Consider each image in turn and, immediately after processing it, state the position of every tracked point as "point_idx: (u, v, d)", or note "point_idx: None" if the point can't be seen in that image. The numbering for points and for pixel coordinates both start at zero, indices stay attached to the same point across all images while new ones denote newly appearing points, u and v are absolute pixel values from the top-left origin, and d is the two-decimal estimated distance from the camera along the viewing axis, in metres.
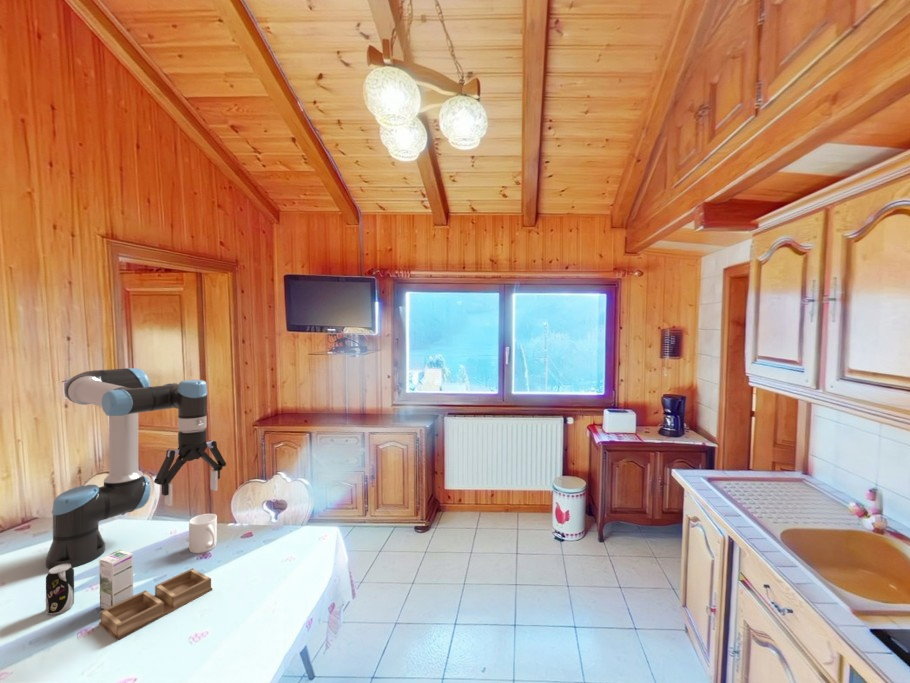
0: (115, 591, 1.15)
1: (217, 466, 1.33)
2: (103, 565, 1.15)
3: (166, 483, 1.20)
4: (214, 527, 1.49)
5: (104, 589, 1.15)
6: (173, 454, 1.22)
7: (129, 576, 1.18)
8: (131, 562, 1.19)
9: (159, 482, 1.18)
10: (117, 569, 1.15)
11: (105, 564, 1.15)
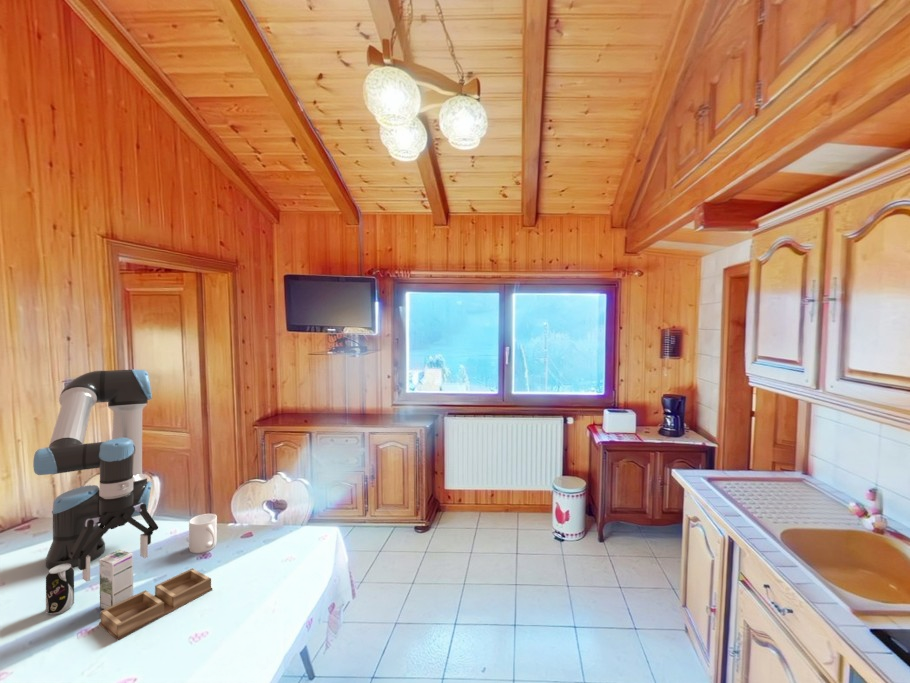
0: (115, 591, 1.15)
1: (147, 531, 1.23)
2: (103, 565, 1.15)
3: (82, 557, 1.10)
4: (214, 527, 1.49)
5: (104, 589, 1.15)
6: (91, 524, 1.11)
7: (129, 576, 1.18)
8: (131, 562, 1.19)
9: (73, 556, 1.08)
10: (117, 569, 1.15)
11: (105, 564, 1.15)
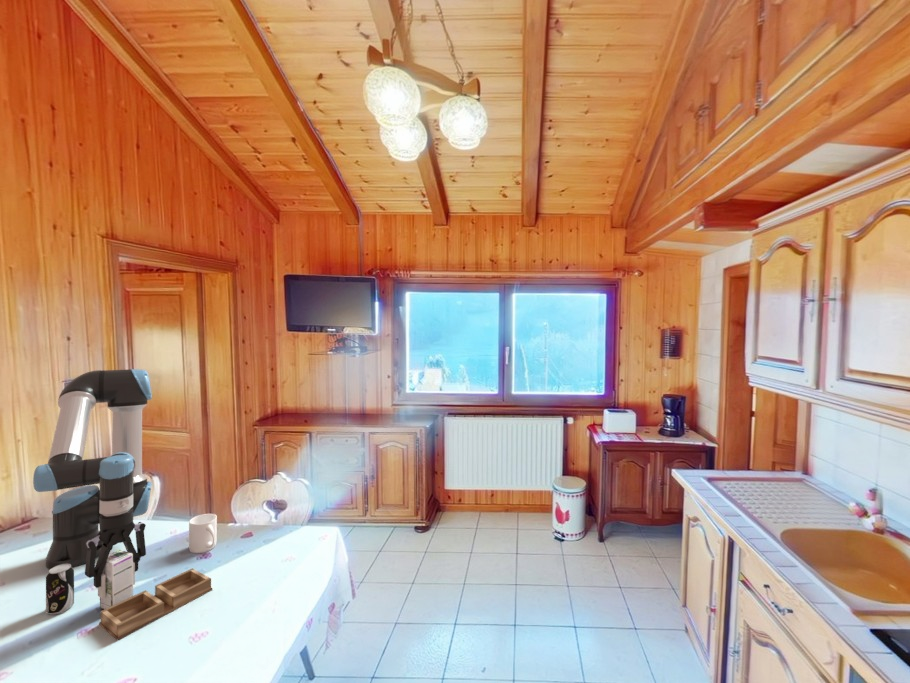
0: (115, 591, 1.15)
1: (135, 556, 1.21)
2: None
3: (98, 575, 1.13)
4: (214, 527, 1.49)
5: None
6: (93, 545, 1.12)
7: (129, 576, 1.18)
8: (131, 562, 1.19)
9: (89, 575, 1.11)
10: (117, 569, 1.15)
11: None
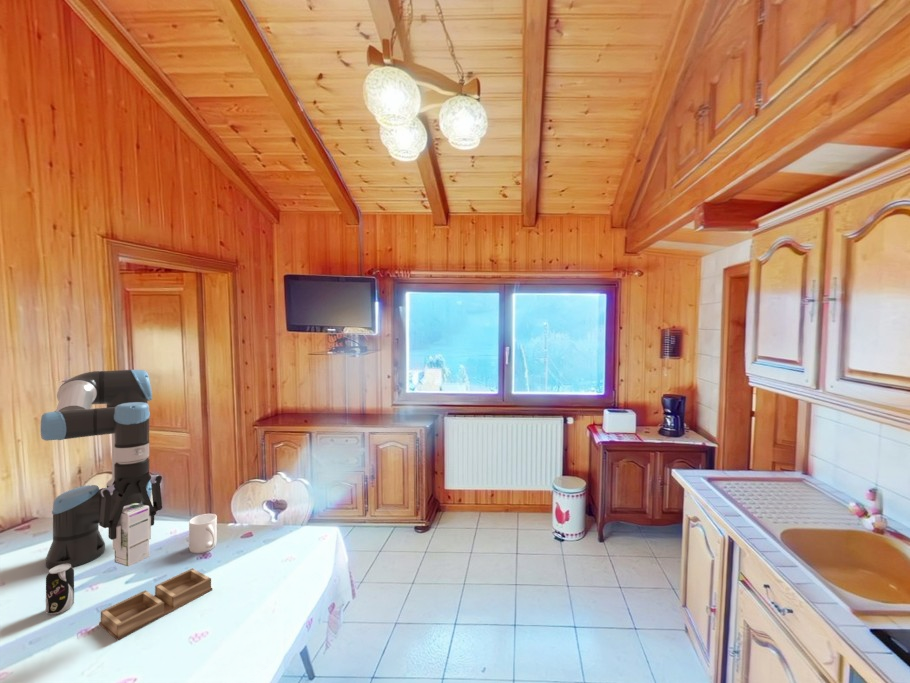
0: (130, 543, 1.09)
1: (151, 510, 1.14)
2: None
3: (113, 526, 1.07)
4: (214, 527, 1.49)
5: None
6: (108, 493, 1.06)
7: (145, 529, 1.12)
8: (148, 515, 1.13)
9: (104, 526, 1.05)
10: (133, 521, 1.09)
11: None
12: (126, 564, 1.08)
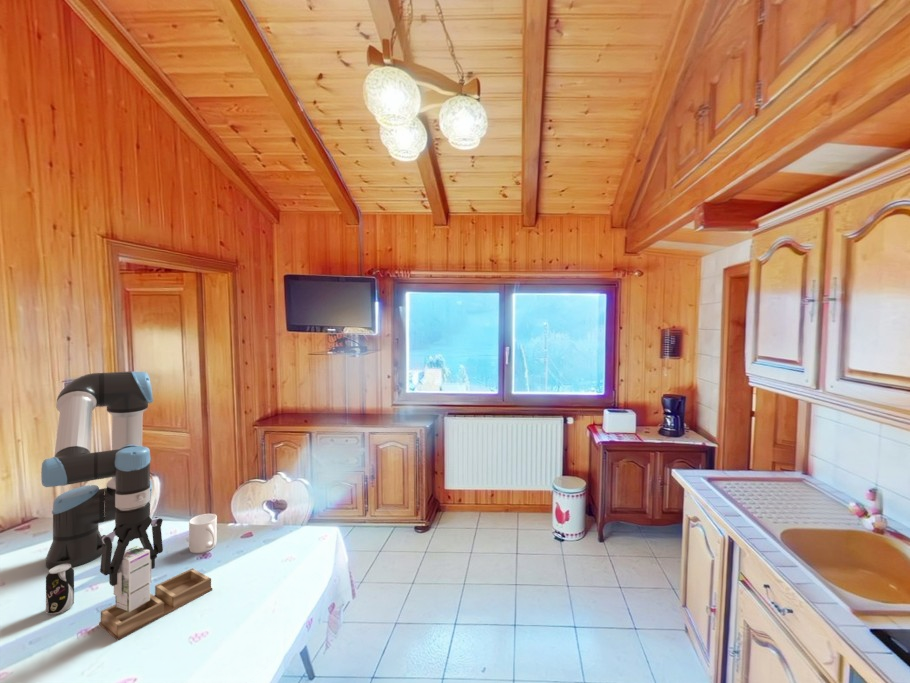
0: (131, 589, 1.09)
1: (152, 553, 1.15)
2: None
3: (114, 572, 1.07)
4: (214, 527, 1.49)
5: None
6: (108, 541, 1.06)
7: (146, 574, 1.12)
8: (148, 559, 1.13)
9: (105, 573, 1.05)
10: (134, 566, 1.09)
11: None
12: (127, 610, 1.09)
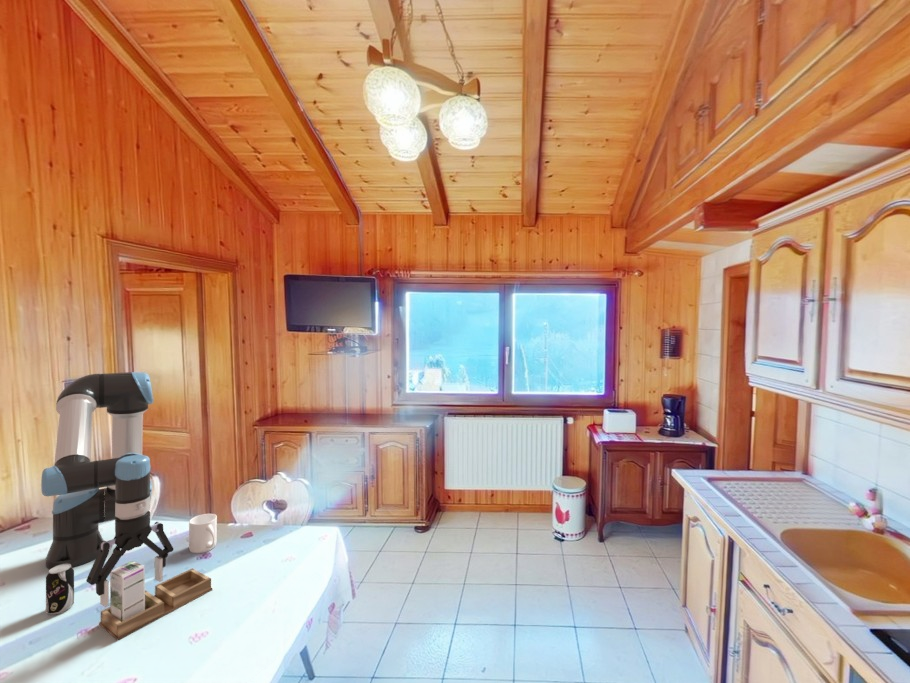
0: (125, 606, 1.08)
1: (162, 553, 1.17)
2: (113, 577, 1.08)
3: (101, 582, 1.05)
4: (214, 527, 1.49)
5: (114, 603, 1.09)
6: (107, 547, 1.06)
7: (140, 590, 1.11)
8: (143, 575, 1.12)
9: (91, 582, 1.03)
10: (128, 583, 1.08)
11: (115, 576, 1.08)
12: None
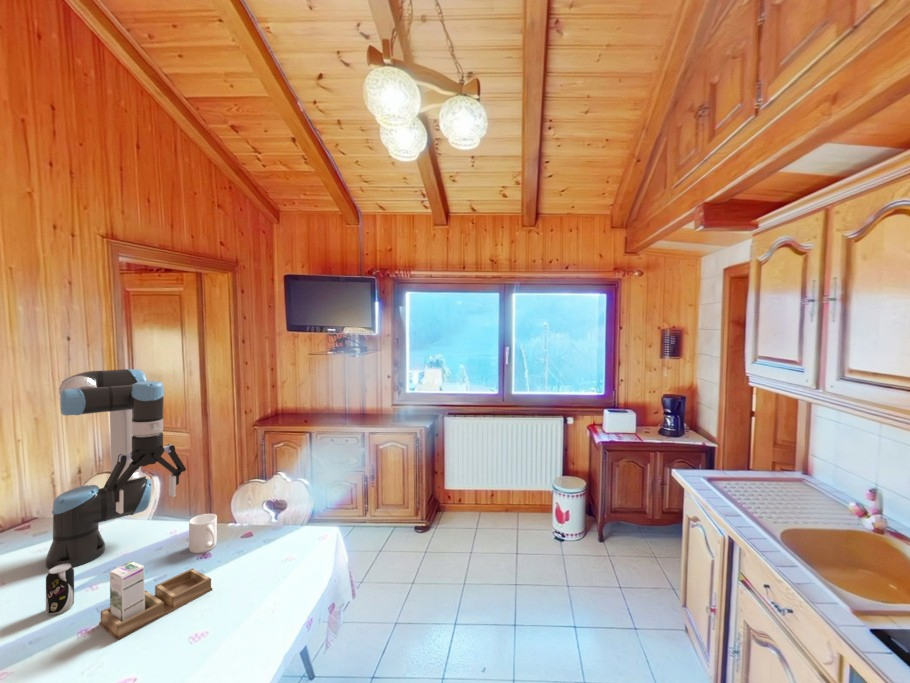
0: (125, 606, 1.08)
1: (175, 471, 1.27)
2: (113, 578, 1.08)
3: (116, 490, 1.14)
4: (214, 527, 1.49)
5: (114, 603, 1.08)
6: (124, 459, 1.16)
7: (140, 590, 1.11)
8: (143, 575, 1.12)
9: (108, 489, 1.13)
10: (128, 583, 1.08)
11: (115, 577, 1.08)
12: None
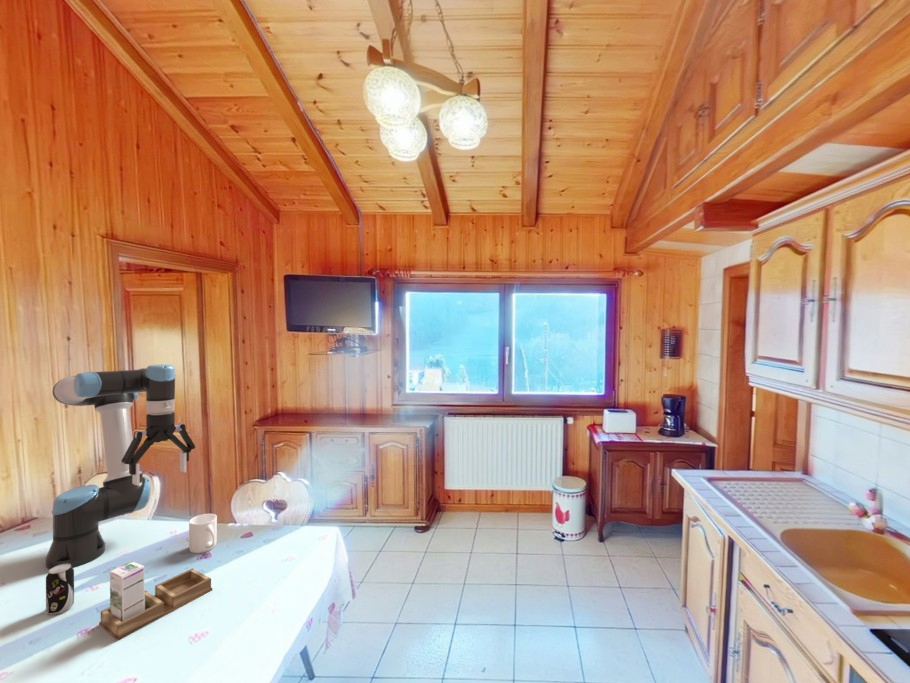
0: (125, 606, 1.08)
1: (186, 448, 1.38)
2: (113, 578, 1.08)
3: (133, 463, 1.25)
4: (214, 527, 1.49)
5: (114, 603, 1.08)
6: (140, 435, 1.26)
7: (140, 590, 1.11)
8: (143, 575, 1.12)
9: (126, 462, 1.23)
10: (128, 583, 1.08)
11: (115, 577, 1.08)
12: None
